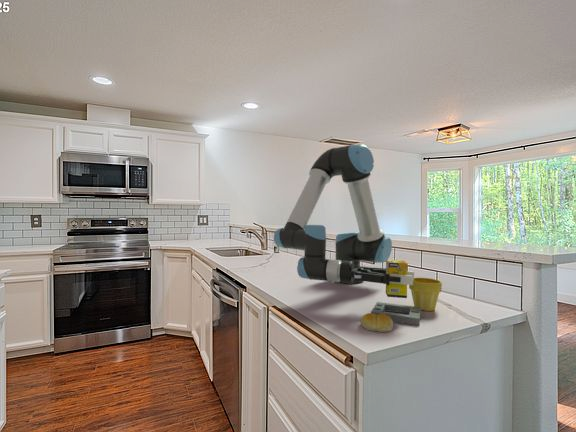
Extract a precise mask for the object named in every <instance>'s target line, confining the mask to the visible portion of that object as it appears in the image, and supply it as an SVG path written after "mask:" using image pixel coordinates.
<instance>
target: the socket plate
mask: <svg viewBox="0 0 576 432" xmlns="http://www.w3.org/2000/svg"><path fill="white" fill-rule="evenodd" d="M370 313H374V314H376V315H379V314H385V315H387V316H389V317H390V318H391V319H392V320H393V323H402V324H408V325H412V326H413V325H415V326H420V323H421V314H422V310H421V307H414V305H413V306H412V305H404V304H398V303H387V302H381V301H377V302H376V303H375V305H374V306H373V308H372V309H371V311H370Z"/></svg>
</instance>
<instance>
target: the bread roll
mask: <svg viewBox="0 0 576 432" xmlns="http://www.w3.org/2000/svg"><path fill="white" fill-rule="evenodd" d="M360 325H361V327H362V328H364V329H365V330H367V331H371V332H379V333H390V332H391V331H392V330H393V327H394V322H393V320H392V319H391V318H390V317H389V316H387V315H385V314H379V315H376V314H374V313H371V312H369V313H365V314H363V316H361V318H360Z"/></svg>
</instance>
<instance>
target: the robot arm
mask: <svg viewBox="0 0 576 432" xmlns="http://www.w3.org/2000/svg"><path fill="white" fill-rule="evenodd" d="M374 161H375V160H374V156H373V153H372V151H371V149H370V148H369V147H368V146H367V145H365V144H361V143H359V144H349V145H345V146H340V147H332V148H330V149H328V150H326V151H324V152H323V153H322V154H320V155H319V156H318V158H317V159H316V160H315V161H314V163H313V165H312V166H311V168H310V170H309V171H308V175H309V177H308V179H307V181H306V183H305V185H304V186H303V189H302V191H301V193H300V195H299V197H298V199H297V201H296V203H295V205H294V207H293V209H292V211H291V213H290V215H289V217H288V219H287V221H286V223H285V225H284V226H283V227H279V228H278V229H276V231H275V232H274V234H273V242H274V244H275V245H276V246H277V247H278V248H283V249H291V250H299V251H304V252H303V253H304V254H303V255H304V256H302V257H300V258H299V259H298V262H297V266H296V269H297V270H296V271H297V275H298V276H299V277H300V278H301V279H306V280H307V279H308V280H311V281H312V280H314V281H315V280H316V281H325V282H331V283H332V284H335V283H340V284H351V285H352V284H360V283H363V282H367V283H376V284H383V285H385V286H386V285H389V281H390V283H397V284H406V285H407V286H409V285H413V280H414V278H415V271H410V270H409V271H408V270H407V275H399V274H390V275H389V274H386V267H373V266H372V267H369V266H361V261H363V262H364V261H365V262H371V263H377V264H383V263H386V260H389V258H390V256H391V255H392V254H391V253H392V249H393V248H392V247H393V242H392V239H391V238H390V237H389V236H385V232H384V229H382V228H380V226H379V222H378V217H377V213H376V209H375V204H374V200H373V196H372V192H371V186H370V183H369V178H370V176H371V172H372V171H373V170H374V167H375V166H374ZM336 176H341V178H342V179H341V180H342V182H343V183H344V184H347V187H348V191H349V195H350V200H351V203H352V207H353V211H354V215H355V218H356V223H357V226H358V231H356V232H345V233H337V235H336V237H335V242H334V243H335V259H327V258H326V253H327V252H326V251H327V250H326V249H327V234H326V233H327V232H326V230H327V229H326V227H325V226H324V225H322V224H308V222H309V221H310V218H311V216H312V214H313V212H314V210H315V207H316V206H317V203H318V201H319V200H320V197H321V196H322V193H323V191H324V189H325V187H326V185H327V184H329V183H330V182H331V179H332V178H333V177H336Z"/></svg>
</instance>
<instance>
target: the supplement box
mask: <svg viewBox="0 0 576 432" xmlns="http://www.w3.org/2000/svg"><path fill="white" fill-rule="evenodd" d="M408 266H409V265H408V262H407V261H406V260H399V259H397V260H396V259H388V260H386V262H385V268H386V274H389V275H390V274H399V275H407V271H408V268H409V267H408ZM385 294H386V297H388V298H399V299H407V298H408V285H406V284H397V283H390V281H389V285H386V284H385Z"/></svg>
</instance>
